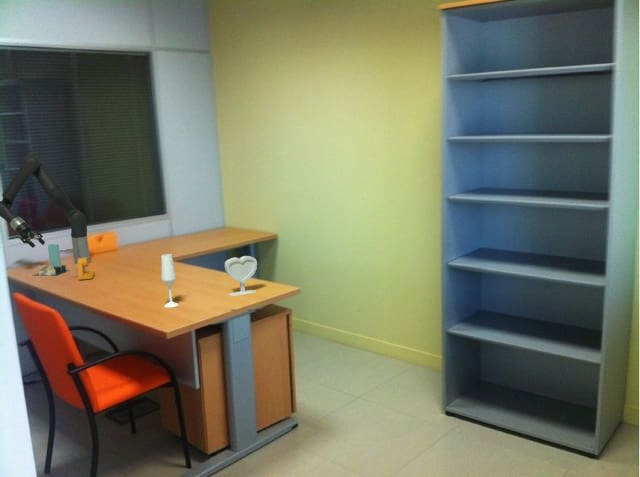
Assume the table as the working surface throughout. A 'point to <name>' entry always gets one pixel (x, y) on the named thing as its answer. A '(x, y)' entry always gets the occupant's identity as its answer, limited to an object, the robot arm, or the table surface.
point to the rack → (58, 271)
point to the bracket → (81, 269)
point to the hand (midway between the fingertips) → (39, 245)
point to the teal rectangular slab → (54, 255)
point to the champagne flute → (168, 275)
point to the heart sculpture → (241, 271)
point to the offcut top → (46, 268)
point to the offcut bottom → (47, 272)
